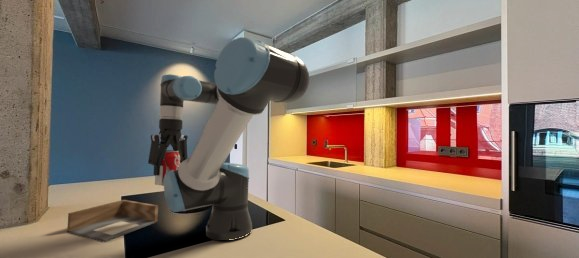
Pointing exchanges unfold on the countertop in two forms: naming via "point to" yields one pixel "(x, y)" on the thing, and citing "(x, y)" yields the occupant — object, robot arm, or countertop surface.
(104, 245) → the countertop surface
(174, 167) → the soda can
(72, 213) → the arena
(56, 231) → the countertop surface
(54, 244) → the countertop surface
